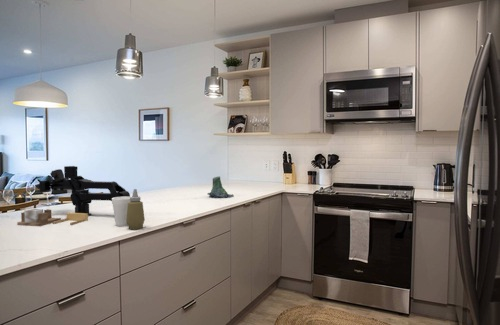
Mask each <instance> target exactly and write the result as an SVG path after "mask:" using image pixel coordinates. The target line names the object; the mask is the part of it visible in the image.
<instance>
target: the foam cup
mask: <svg viewBox="0 0 500 325" xmlns="http://www.w3.org/2000/svg"><path fill="white" fill-rule="evenodd" d="M130 197H131V196H130ZM130 197H114V198H112V201H111V204H112V208H113V209H112V210H113V215H114V216H113V217H114V222H115V226H116V227H125V226H126V227H128V225H127V222H126V219H127V207H128V203H129V202H131V201H130Z"/></svg>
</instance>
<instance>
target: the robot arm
mask: <svg viewBox="0 0 500 325" xmlns="http://www.w3.org/2000/svg"><path fill="white" fill-rule="evenodd" d="M63 167H64V168H63V169H60V168H59V169H55V170H51V172H50V177H51V178H53V179H52V180H51V181H52V182H51V181H50V180H46V179H45V180H39V183H37V184H35V185H34V187H35V188H36V189H38V190H39V192H40V194H42V193H48V192H49V193H50V190H51V189H53V191H71V194H70V200H71V203H72V206H75V207H74V213H87V214H88V216H91V215H92V213H90V204H91V203H92V201H111V202H112V198H114V197H131V194H130V192H129V191H127V189H125V188H124V187H122V186H121V185H120V184H119V183H118V182H117V181H94V180H91V179H87V178H84V177H83V176H82V175H78V166H75V165H69V166H68V165H66V166H65V165H64V166H63ZM63 171H64V172H63ZM90 189H92V190H93V189H94V190H95V189H96V190H97V189H98V190H108V191H109V192H90V191H89V190H90Z"/></svg>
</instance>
